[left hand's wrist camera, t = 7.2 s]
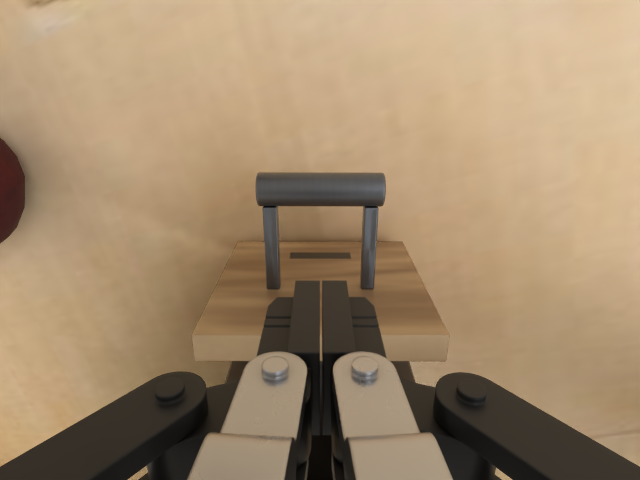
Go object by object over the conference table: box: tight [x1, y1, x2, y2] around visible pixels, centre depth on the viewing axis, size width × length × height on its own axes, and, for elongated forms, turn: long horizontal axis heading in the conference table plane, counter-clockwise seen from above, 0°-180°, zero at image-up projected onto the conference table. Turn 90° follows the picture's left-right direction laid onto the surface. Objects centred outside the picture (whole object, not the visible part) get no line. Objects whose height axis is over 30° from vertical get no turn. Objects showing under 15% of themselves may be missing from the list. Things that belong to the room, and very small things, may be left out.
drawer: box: [192, 173, 449, 480], centre depth 23 cm, size 26×10×10 cm, turn 0°
